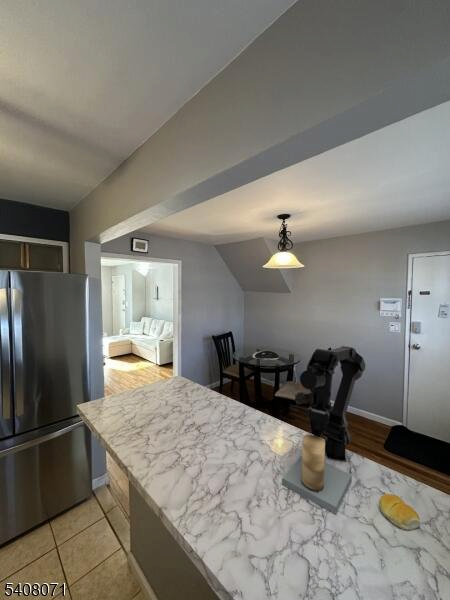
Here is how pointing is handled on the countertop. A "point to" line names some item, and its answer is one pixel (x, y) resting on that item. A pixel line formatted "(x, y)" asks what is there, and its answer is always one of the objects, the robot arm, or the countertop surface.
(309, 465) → the oak leg
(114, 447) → the countertop surface
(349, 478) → the slate board
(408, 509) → the bread roll
